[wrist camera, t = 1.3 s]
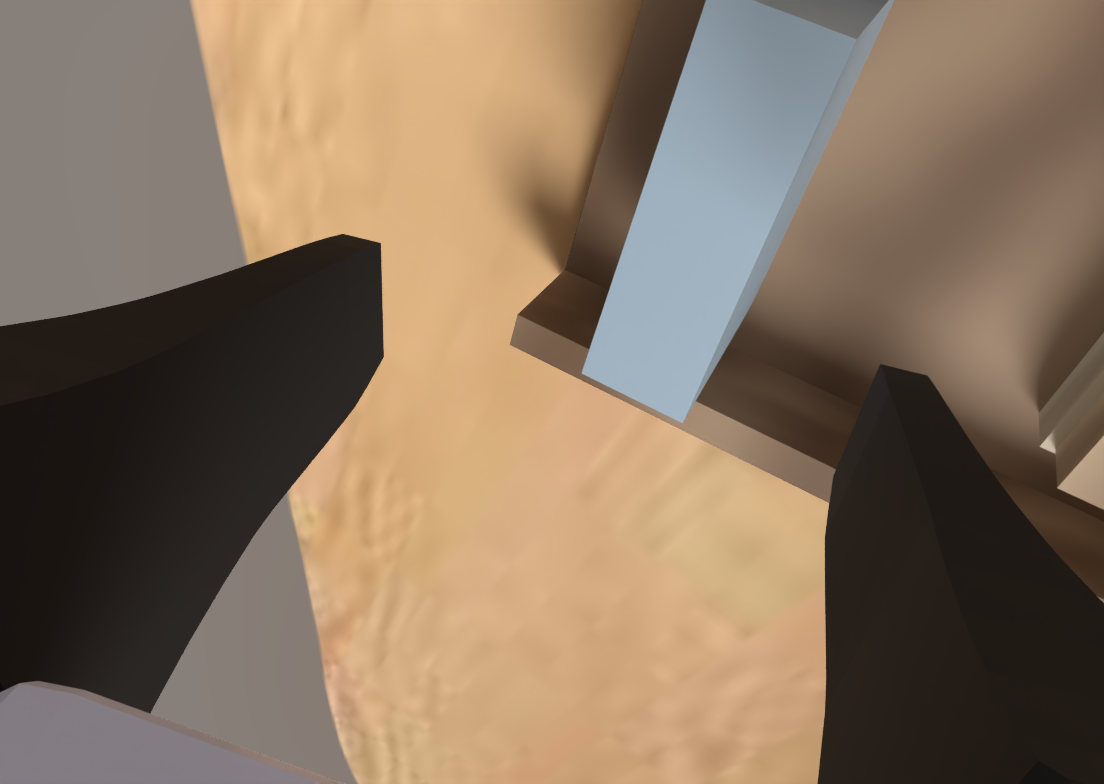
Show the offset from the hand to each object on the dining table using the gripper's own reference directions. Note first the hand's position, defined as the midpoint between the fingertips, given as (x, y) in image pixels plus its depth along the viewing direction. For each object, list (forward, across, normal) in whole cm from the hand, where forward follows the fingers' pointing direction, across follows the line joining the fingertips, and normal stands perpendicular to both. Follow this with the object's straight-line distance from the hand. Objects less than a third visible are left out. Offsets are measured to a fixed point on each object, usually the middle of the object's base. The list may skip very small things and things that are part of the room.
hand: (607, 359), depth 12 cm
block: (+10, -2, 0) cm, 11 cm away
